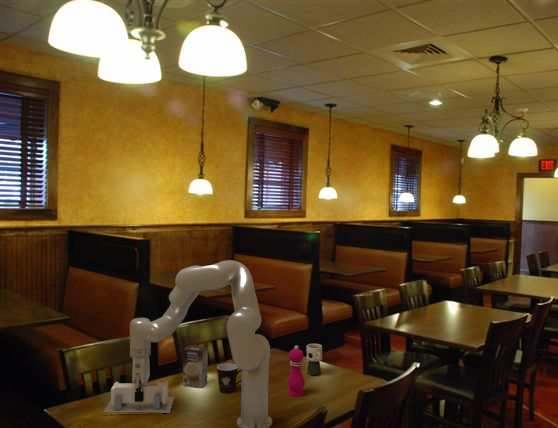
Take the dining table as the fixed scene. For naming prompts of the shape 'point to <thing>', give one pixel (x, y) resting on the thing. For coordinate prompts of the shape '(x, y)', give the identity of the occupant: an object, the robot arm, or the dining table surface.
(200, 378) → the coffee box
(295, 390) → the pepper mill
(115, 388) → the strip bar
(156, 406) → the slot rack
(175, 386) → the dining table surface
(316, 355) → the character mug
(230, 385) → the coffee mug
